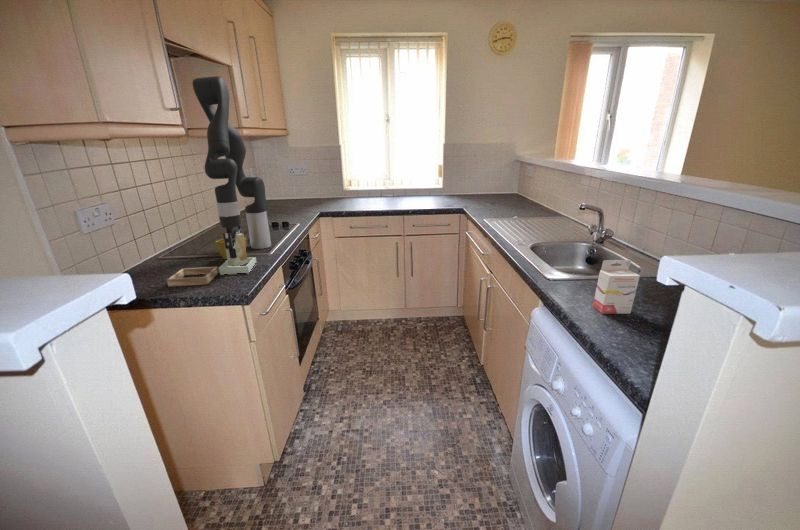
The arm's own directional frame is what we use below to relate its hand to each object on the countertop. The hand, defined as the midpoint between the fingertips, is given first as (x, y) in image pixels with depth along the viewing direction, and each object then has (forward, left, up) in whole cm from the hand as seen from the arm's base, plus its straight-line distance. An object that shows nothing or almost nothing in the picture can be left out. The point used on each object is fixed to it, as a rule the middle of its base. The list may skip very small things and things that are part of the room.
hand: (236, 254), depth 135 cm
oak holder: (+9, -13, -6) cm, 17 cm away
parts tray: (0, 0, -6) cm, 6 cm away
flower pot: (-14, -6, -6) cm, 16 cm away
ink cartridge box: (+57, +119, -6) cm, 132 cm away
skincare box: (0, 0, -4) cm, 4 cm away
